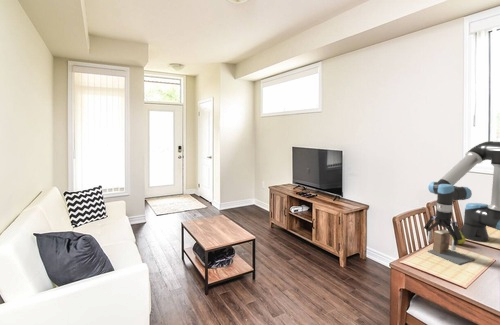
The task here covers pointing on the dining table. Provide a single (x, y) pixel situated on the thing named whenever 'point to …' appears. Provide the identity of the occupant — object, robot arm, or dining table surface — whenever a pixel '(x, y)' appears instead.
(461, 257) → the felt pad
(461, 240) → the fruit
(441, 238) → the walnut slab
